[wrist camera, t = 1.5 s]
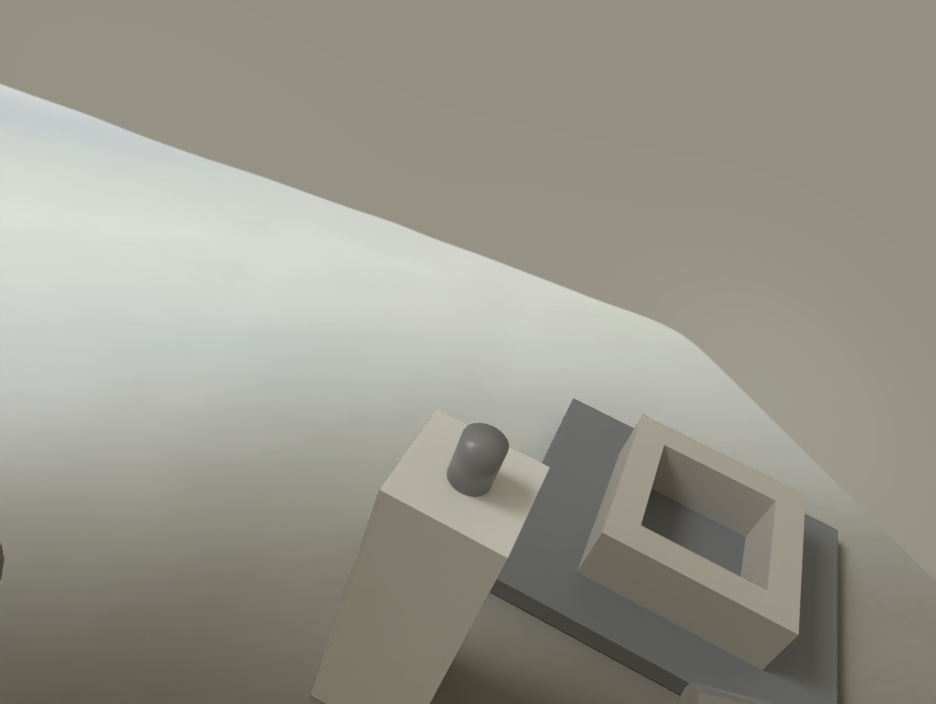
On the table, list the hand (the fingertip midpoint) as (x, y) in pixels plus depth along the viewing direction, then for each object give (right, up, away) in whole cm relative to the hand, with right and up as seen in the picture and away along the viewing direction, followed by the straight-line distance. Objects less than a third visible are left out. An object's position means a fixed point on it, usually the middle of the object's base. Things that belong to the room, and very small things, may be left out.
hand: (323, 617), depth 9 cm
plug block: (-2, -10, +22) cm, 24 cm away
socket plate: (+12, -7, +30) cm, 34 cm away
